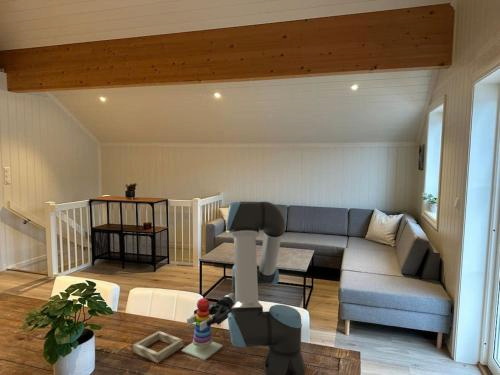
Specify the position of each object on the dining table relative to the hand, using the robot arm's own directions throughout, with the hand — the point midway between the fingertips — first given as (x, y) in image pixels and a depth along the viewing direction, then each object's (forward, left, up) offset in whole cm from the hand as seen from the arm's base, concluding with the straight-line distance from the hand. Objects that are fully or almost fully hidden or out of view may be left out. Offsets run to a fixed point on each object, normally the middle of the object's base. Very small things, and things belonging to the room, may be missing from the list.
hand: (194, 324), depth 136 cm
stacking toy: (0, -5, -10) cm, 11 cm away
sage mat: (0, -5, -12) cm, 13 cm away
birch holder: (+15, +5, -12) cm, 20 cm away
